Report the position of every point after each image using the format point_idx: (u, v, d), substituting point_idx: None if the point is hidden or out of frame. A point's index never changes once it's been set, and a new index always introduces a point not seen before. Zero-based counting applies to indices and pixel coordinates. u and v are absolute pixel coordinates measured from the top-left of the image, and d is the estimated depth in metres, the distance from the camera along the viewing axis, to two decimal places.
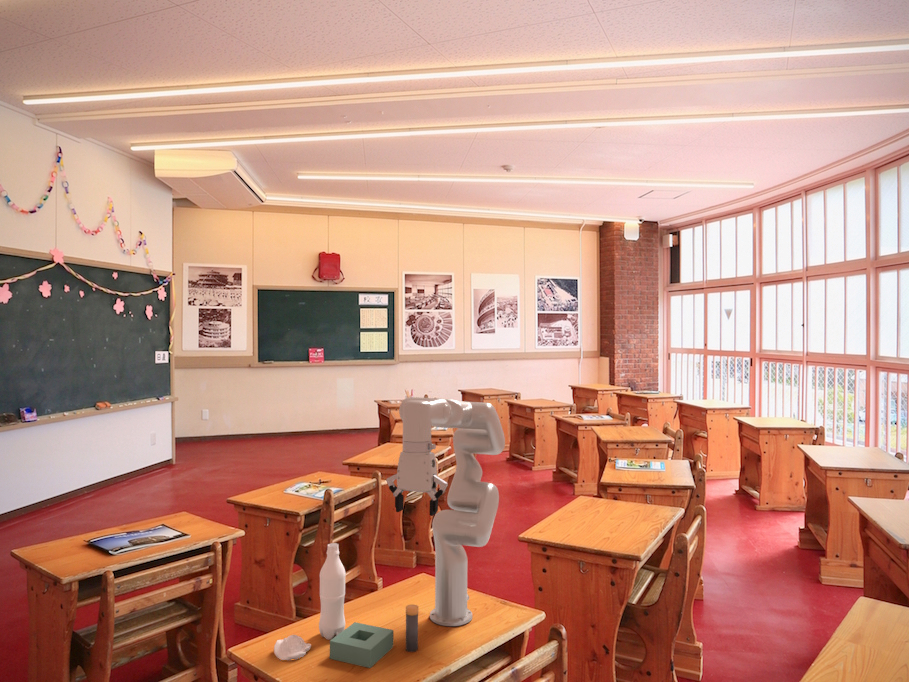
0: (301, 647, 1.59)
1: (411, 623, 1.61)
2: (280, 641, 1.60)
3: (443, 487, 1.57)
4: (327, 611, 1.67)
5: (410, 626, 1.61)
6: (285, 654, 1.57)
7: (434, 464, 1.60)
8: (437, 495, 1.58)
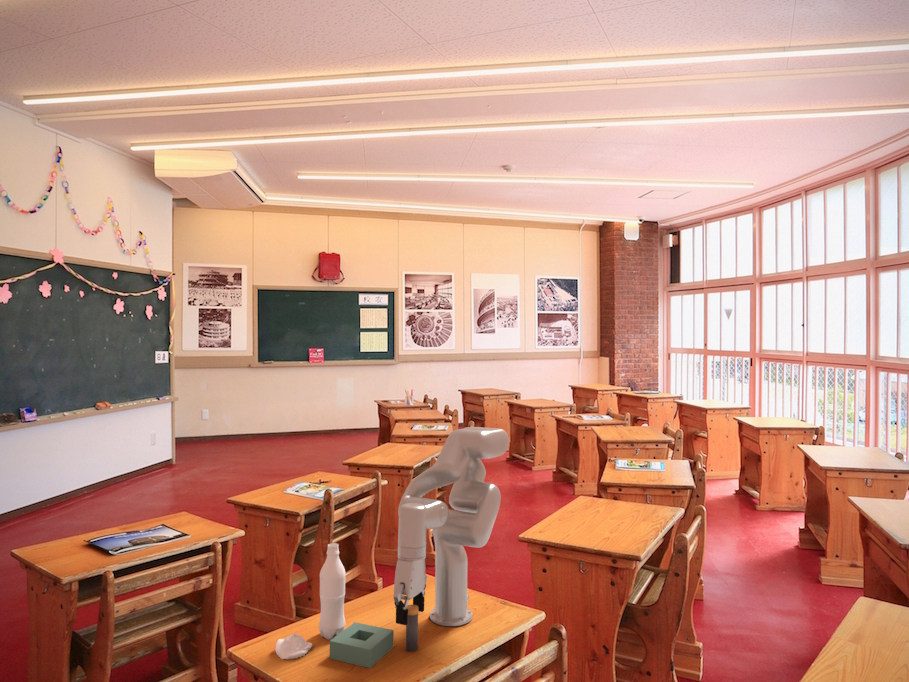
0: (302, 646, 1.59)
1: (411, 623, 1.61)
2: (281, 640, 1.61)
3: (425, 580, 1.69)
4: (327, 611, 1.67)
5: (410, 626, 1.61)
6: (286, 653, 1.57)
7: None
8: (423, 589, 1.67)
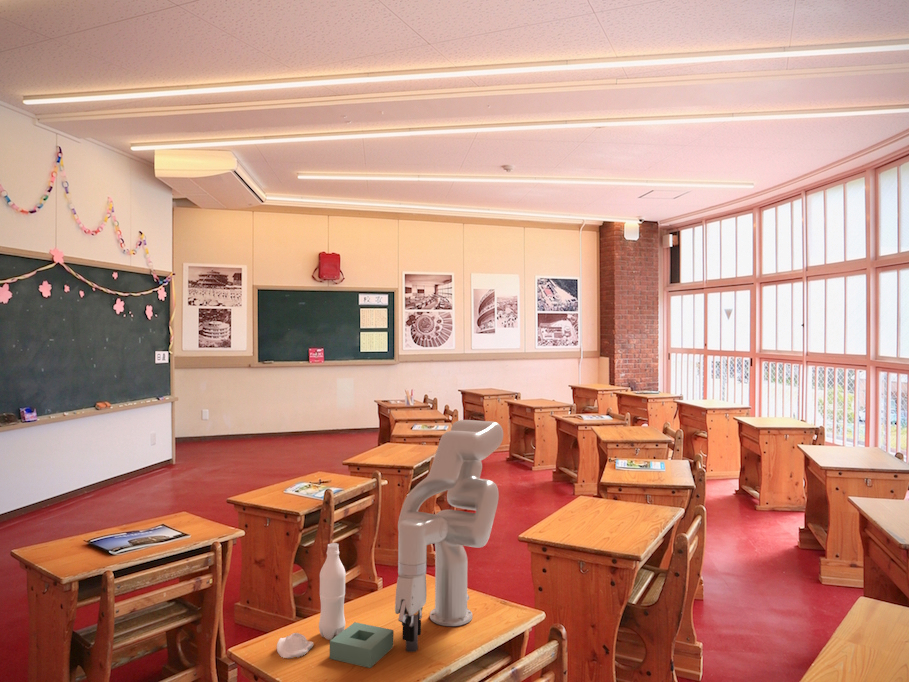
0: (304, 645, 1.60)
1: None
2: (283, 639, 1.62)
3: None
4: (327, 611, 1.67)
5: None
6: (288, 652, 1.58)
7: None
8: None
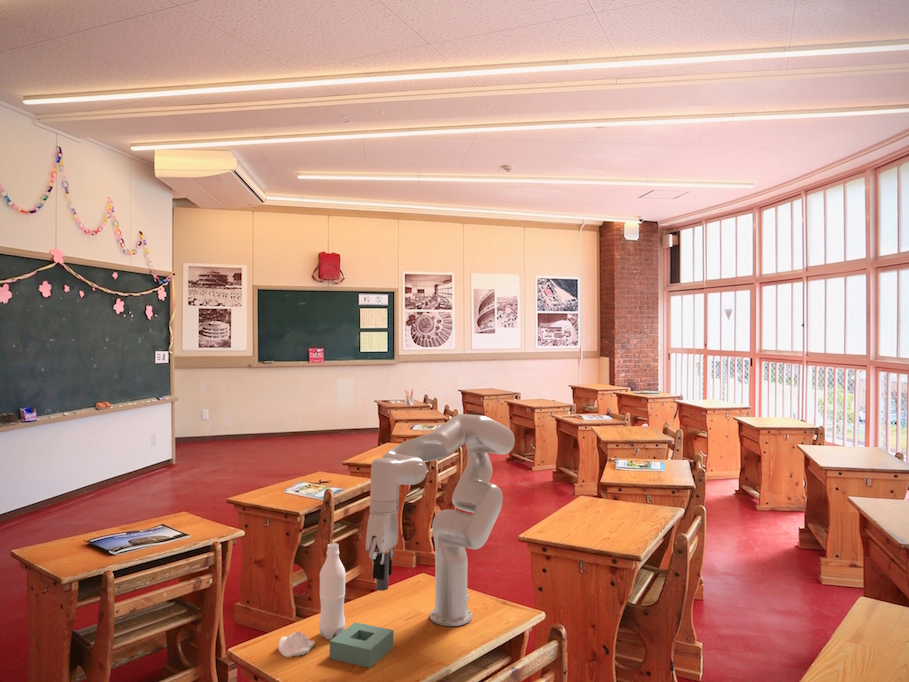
0: (305, 644, 1.60)
1: None
2: (284, 638, 1.62)
3: (394, 545, 1.66)
4: (327, 611, 1.67)
5: None
6: (289, 651, 1.59)
7: None
8: None
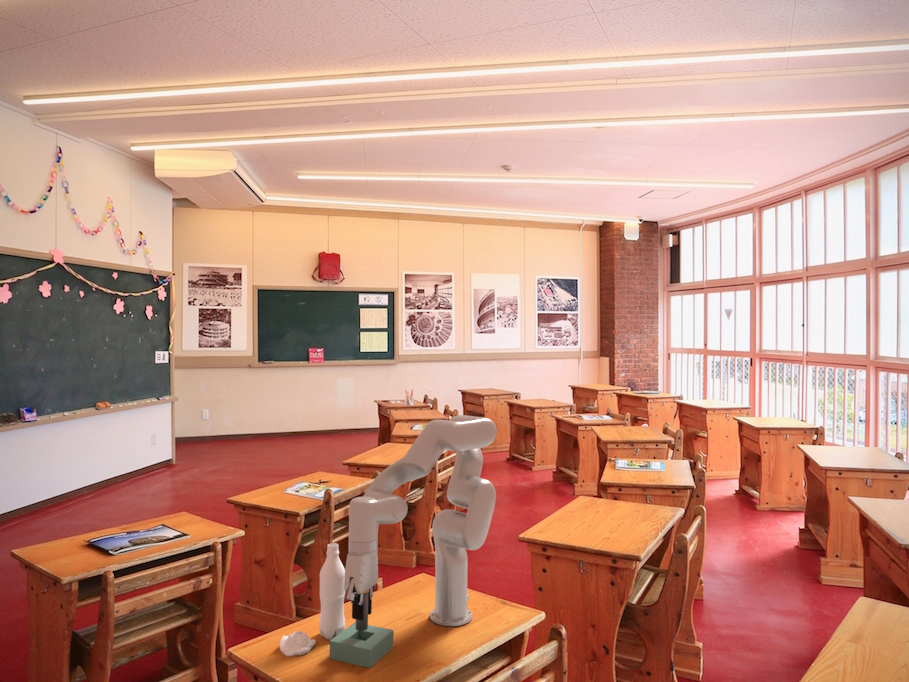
0: (306, 643, 1.61)
1: None
2: (285, 637, 1.63)
3: (375, 583, 1.65)
4: (327, 611, 1.67)
5: None
6: (290, 650, 1.59)
7: None
8: None
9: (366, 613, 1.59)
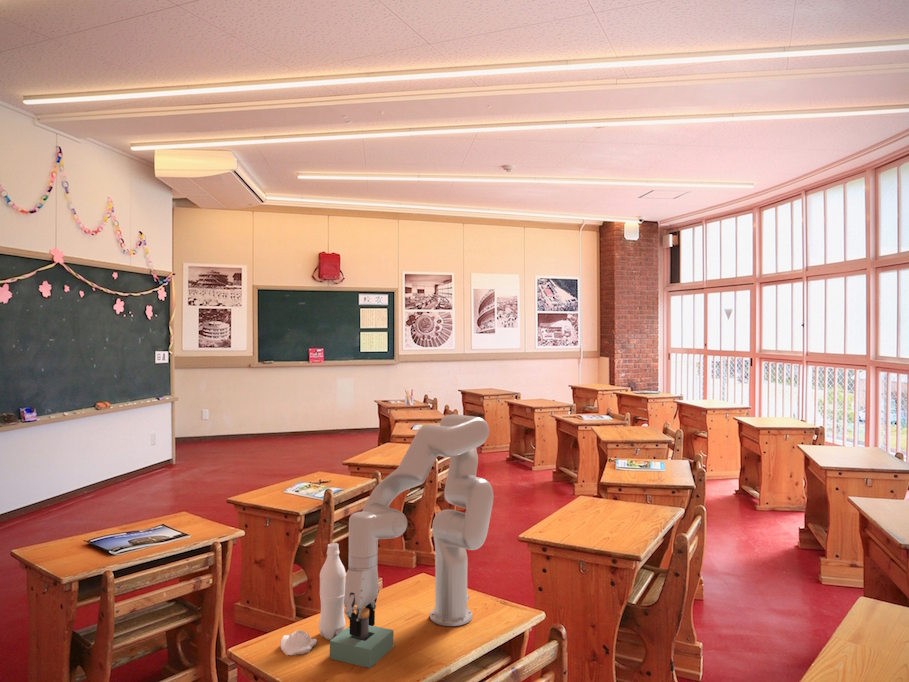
0: (307, 642, 1.61)
1: (361, 627, 1.59)
2: (286, 636, 1.63)
3: (377, 593, 1.66)
4: (327, 611, 1.67)
5: None
6: (292, 649, 1.60)
7: None
8: (374, 603, 1.64)
9: (366, 638, 1.59)
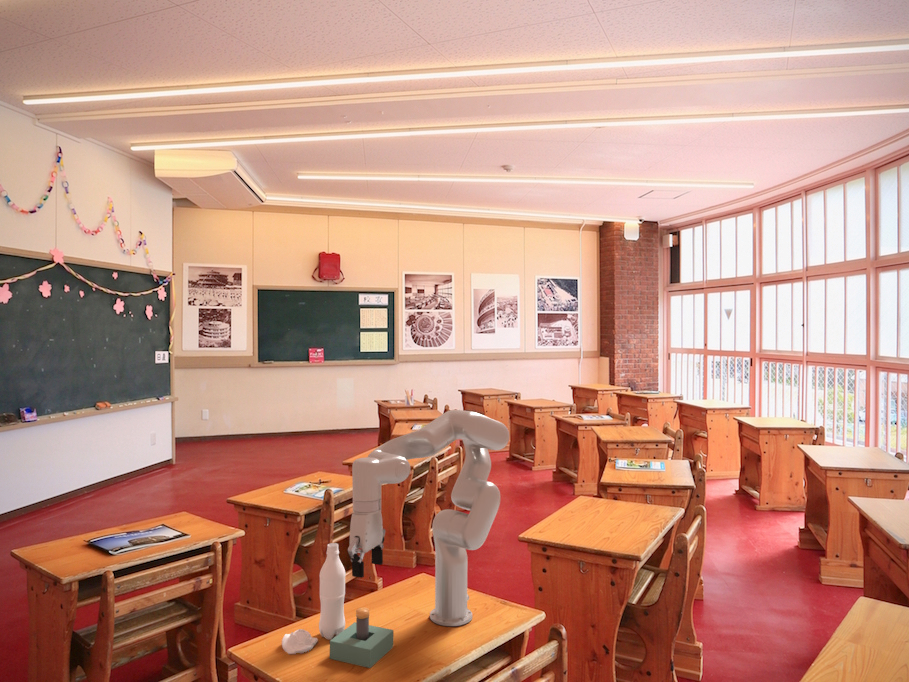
0: (308, 641, 1.62)
1: (361, 627, 1.59)
2: (288, 635, 1.64)
3: (384, 533, 1.69)
4: (327, 611, 1.67)
5: (360, 629, 1.59)
6: (293, 648, 1.60)
7: None
8: (382, 543, 1.67)
9: (367, 638, 1.59)
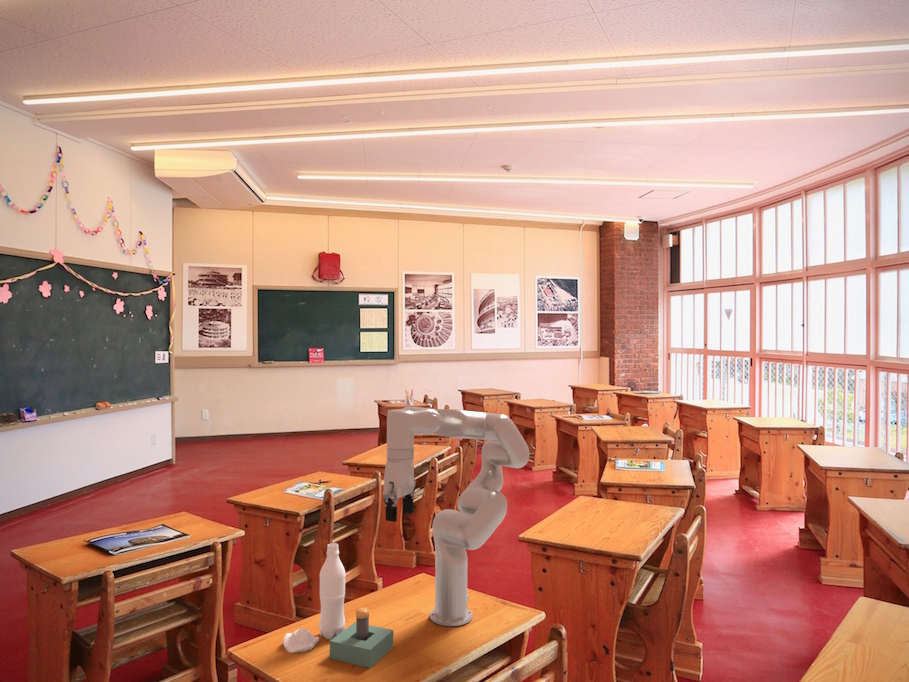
0: (310, 640, 1.63)
1: (361, 627, 1.59)
2: (289, 634, 1.64)
3: (414, 484, 1.76)
4: (327, 611, 1.67)
5: (360, 629, 1.59)
6: (294, 647, 1.61)
7: None
8: (412, 493, 1.75)
9: (366, 638, 1.59)
